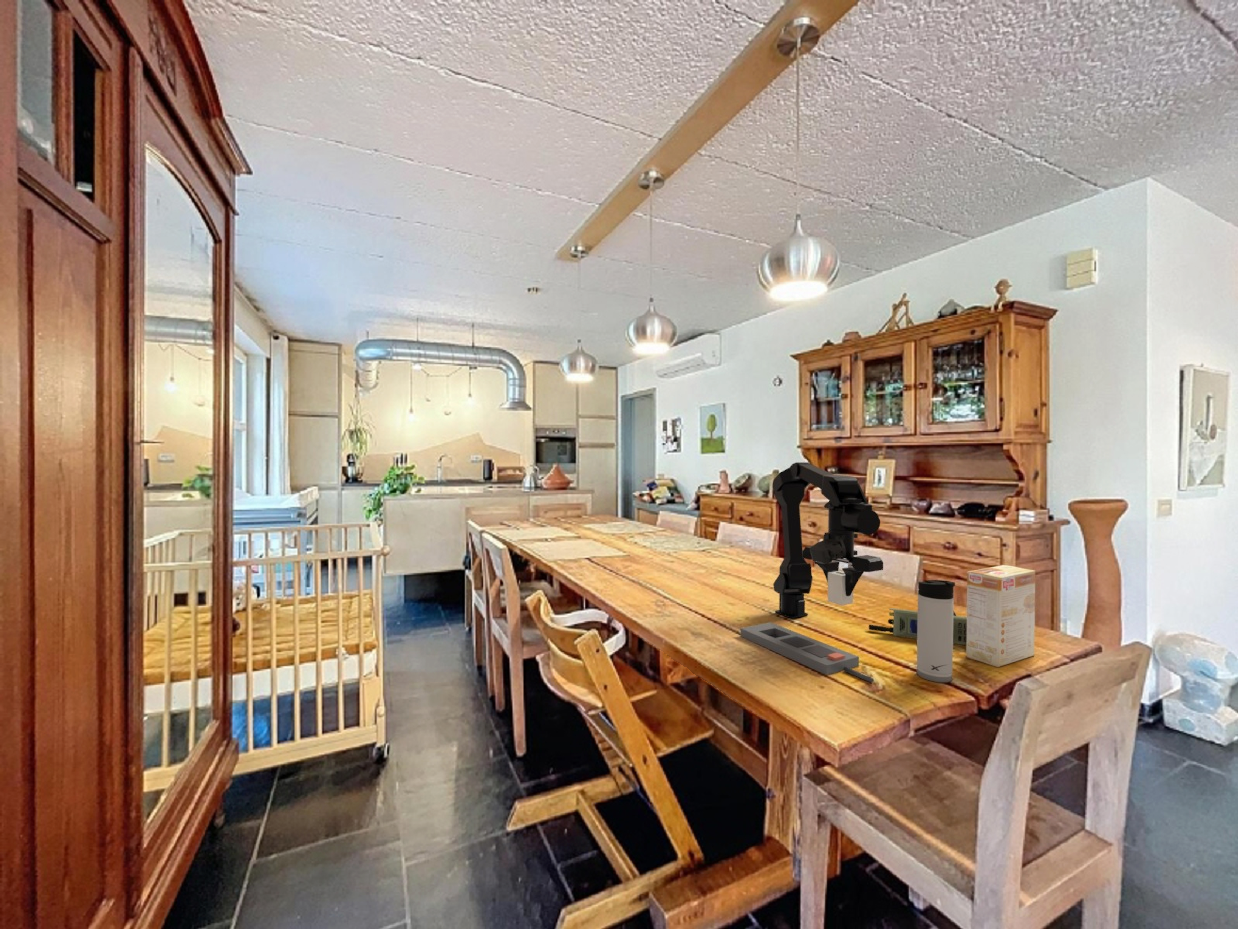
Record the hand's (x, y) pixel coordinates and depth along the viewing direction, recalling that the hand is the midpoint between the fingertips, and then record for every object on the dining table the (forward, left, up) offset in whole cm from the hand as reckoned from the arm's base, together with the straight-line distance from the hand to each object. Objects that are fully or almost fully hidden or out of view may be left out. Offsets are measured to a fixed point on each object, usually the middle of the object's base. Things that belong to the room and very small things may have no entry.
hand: (840, 593), depth 126 cm
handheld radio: (+8, +22, -12) cm, 26 cm away
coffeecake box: (+23, +25, -12) cm, 36 cm away
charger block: (0, 0, -2) cm, 2 cm away
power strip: (+2, -13, -12) cm, 18 cm away
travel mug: (+22, +1, -12) cm, 25 cm away
